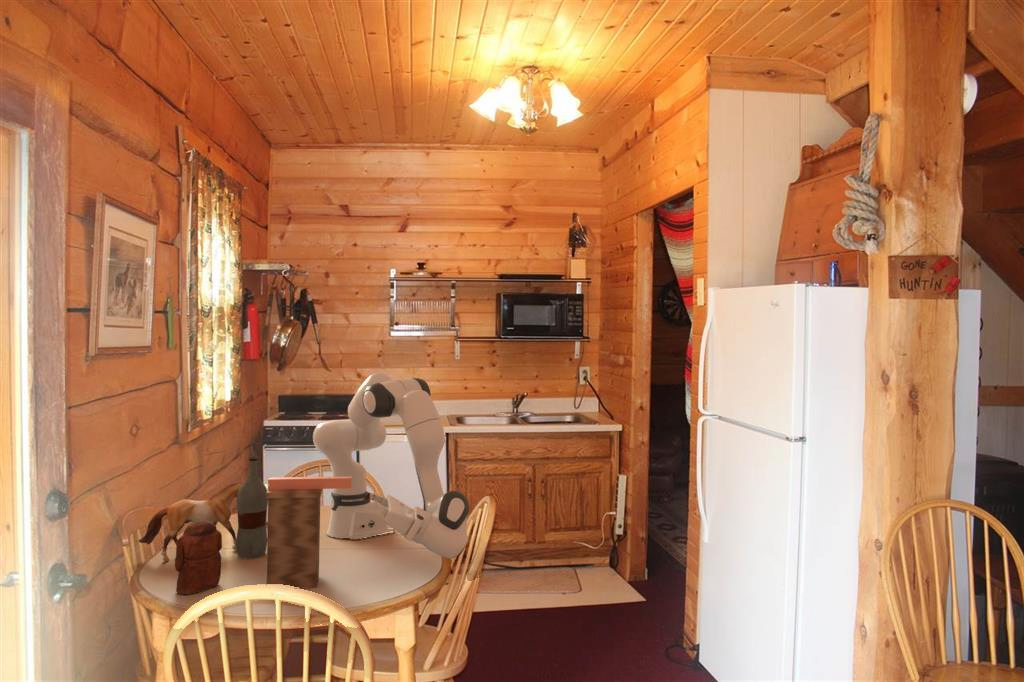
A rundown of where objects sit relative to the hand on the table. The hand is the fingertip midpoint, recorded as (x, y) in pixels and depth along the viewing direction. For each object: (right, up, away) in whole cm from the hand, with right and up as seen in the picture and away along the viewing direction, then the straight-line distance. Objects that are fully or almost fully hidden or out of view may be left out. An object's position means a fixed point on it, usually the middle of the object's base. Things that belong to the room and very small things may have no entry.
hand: (371, 499), depth 208 cm
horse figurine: (-58, -21, +21) cm, 66 cm away
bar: (-16, +4, -3) cm, 17 cm away
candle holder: (-49, -21, +62) cm, 82 cm away
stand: (-21, -22, -4) cm, 30 cm away
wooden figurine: (-44, -22, -10) cm, 50 cm away
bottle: (-41, -21, +20) cm, 50 cm away
